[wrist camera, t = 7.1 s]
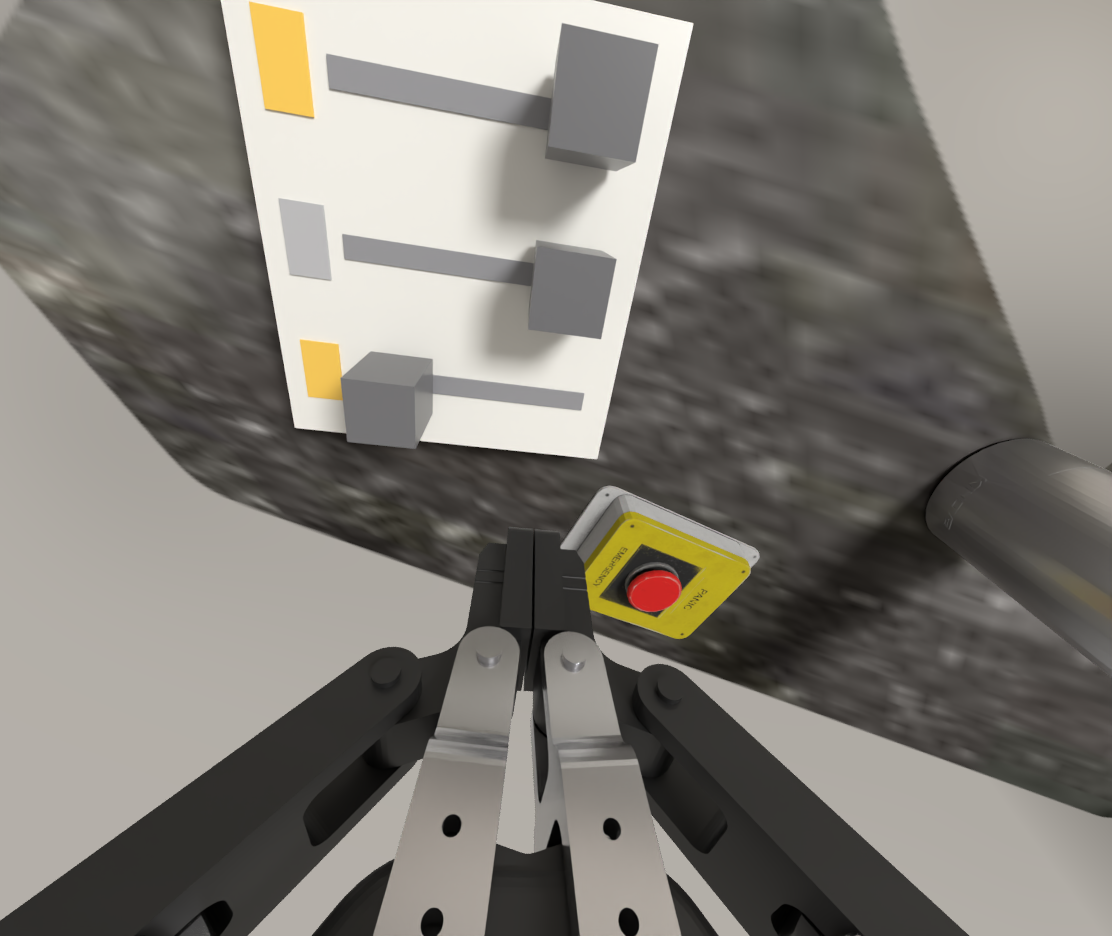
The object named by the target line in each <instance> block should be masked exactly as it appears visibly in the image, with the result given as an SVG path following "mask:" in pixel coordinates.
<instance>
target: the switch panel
mask: <svg viewBox="0 0 1112 936" xmlns="http://www.w3.org/2000/svg"><path fill="white" fill-rule="evenodd" d="M221 4H222V10H223V16H224V21H225V27H226V33H227V39H228V44H229V50H230V56H231V62H232V67H233V73H234V79H235V85H236V91H237V96H238V102H239V108H240V114H241V119H242V125H243V131H244V137H245V143H246V148H247V154H248V160H249V166H250V171H251V177H252V183H253V189H254V195H255V200H256V206H257V212H258V218H259V223H260V229H261V235H262V241H263V246H264V252H265V258H266V264H267V270H268V275H269V281H270V287H271V293H272V298H273V304H274V310H275V316H276V322H277V327H278V333H279V339H280V345H281V350H282V356H283V362H284V368H285V373H286V379H287V385H288V391H289V397H290V402H291V408H292V414H293V420H294V425H295V428H301V429H310V430H320V431H330V432H339V433H346V425H345V416H344V407H343V398H342V388H341V379H340V378H341V377H342V376H343V375H344V374H346V373H347V372H348V371H349V370H350V369H351V368H352V367H354V366H355V365H356V364H357V363H358V362H359V361H360V360H361V359H363V358H364V357H365V356H366V355H367V354H368V353H369V352H371V351H373V352H381V353H389V354H397V355H405V356H413V357H421V358H429V359H433V414H432V416H431V418H430V420H429V422H428V424H427V426H426V429H425V431H424V433H423V435H422V437H421V439H420V441H426V442H436V443H445V444H455V445H465V446H474V447H484V448H494V449H503V450H513V451H523V452H532V453H542V454H552V455H561V456H571V457H581V458H590V459H597V457H598V453H599V448H600V444H601V439H602V435H603V430H604V426H605V421H606V417H607V412H608V408H609V403H610V399H611V394H612V390H613V385H614V381H615V376H616V371H617V367H618V362H619V358H620V353H621V349H622V344H623V340H624V335H625V331H626V326H627V322H628V317H629V313H630V308H631V304H632V299H633V295H634V290H635V286H636V281H637V276H638V272H639V267H640V263H641V258H642V254H643V249H644V245H645V240H646V236H647V231H648V227H649V222H650V218H651V213H652V209H653V204H654V200H655V195H656V191H657V186H658V182H659V177H660V172H661V168H662V163H663V159H664V154H665V150H666V145H667V141H668V136H669V132H670V127H671V123H672V118H673V114H674V109H675V105H676V100H677V96H678V91H679V87H680V82H681V78H682V73H683V68H684V64H685V59H686V55H687V50H688V46H689V41H690V37H691V32H692V28H693V23H690V22H685V21H681V20H677V19H672V18H668V17H663V16H659V15H655V14H650V13H646V12H641V11H637V10H633V9H628V8H624V7H620V6H615V5H611V4H606V3H602V2H598V1H593V0H221ZM562 23H565V24H569V25H574V26H578V27H583V28H587V29H592V30H596V31H601V32H606V33H610V34H615V35H619V36H624V37H628V38H633V39H637V40H642V41H646V42H651V43H655V44H659V45H658V50H657V56H656V61H655V66H654V71H653V76H652V81H651V86H650V91H649V97H648V102H647V107H646V112H645V117H644V122H643V127H642V132H641V138H640V143H639V148H638V153H637V158H636V163H634V164H631V165H629V166H627V167H625V168H622V169H620V170H618V171H611V170H605V169H600V168H594V167H589V166H583V165H578V164H572V163H567V162H561V161H556V160H550V159H545V153H546V144H547V135H548V125H549V116H550V107H551V98H552V89H553V79H554V70H555V61H556V55H557V49H558V43H559V37H560V31H561V25H562ZM536 240H539V241H546V242H552V243H558V244H564V245H571V246H577V247H583V248H589V249H595V250H602V251H604V252H605V253H607V254H609V255H610V256H612V257H614V258H616V259H617V260H616V266H615V271H614V276H613V281H612V286H611V291H610V296H609V301H608V306H607V312H606V317H605V322H604V327H603V332H602V337H601V339H595V338H587V337H580V336H573V335H565V334H558V333H551V332H543V331H536V330H529V329H528V310H529V301H530V291H531V282H532V273H533V264H534V255H535V245H536Z"/></svg>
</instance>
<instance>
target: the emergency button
mask: <svg viewBox="0 0 1112 936" xmlns="http://www.w3.org/2000/svg"><path fill="white" fill-rule="evenodd" d="M560 548H561V549H568V550H576V552H577V553H578V555H579V556H580V558H581V559H582V561H583V562H584V568H585V575H586V583H587V592H588V598H589V606H590V610H593V611H596V612H599V613H602V614H605V615H608V616H611V617H614V618H617V619H619V620H622V621H625V622H628V623H631V624H634V625H637V626H640V627H643V628H646V629H649V630H652V631H655V632H658V633H661V634H664V635H667V636H669V637H672V638H676V639H682V638H686V637H687V636H689V635H690V634H691V633H692V632H693V631H694V630H695V629H696V628H697V627H698V626H699V625H700V624H701V623H702V622H703V621H704V620H705V619H706V618H707V617H708V616H709V615H710V614H711V613H712V612H713V611H714V610H715V609H716V608H717V607H718V606H719V605H720V604H721V603H722V602H723V601H724V600H725V599H726V598H727V597H728V596H729V595H730V594H731V593H732V592H733V591H734V590H735V589H736V588H737V587H738V586H739V585H740V584H741V583H742V582H743V581H744V580H745V579H746V578H747V577H748V576H749V574H750V573H751V571H750V568H751V567H752V566H753V565H754V564H755V563H756V562H757V561H758V559H759V552H758V551H757V550H756V549H755V548H754V547H751V546H749V545H747V544H745V543H742V542H740V541H738V540H736V539H733V538H731V537H729V536H727V535H724V534H722V533H720V532H717V531H715V530H713V529H711V528H708V527H706V526H704V525H702V524H699V523H697V522H695V521H693V520H690V519H688V518H686V517H684V516H681V515H679V514H677V513H674V512H672V511H670V510H668V509H665V508H663V507H661V506H659V505H656V504H654V503H652V502H650V501H647V500H645V499H643V498H640V497H638V496H636V495H634V494H631V493H629V492H627V491H625V490H622V489H620V488H618V487H614V486H606V487H602V488H601V489H599V490H598V491H597V492H596V493H595V495H594V496H593V498H592V499H591V501H590V502H589V504H588V505H587V507H586V508H585V510H584V511H583V512H582V514H581V515H580V517H579V518H578V520H577V521H576V523H575V524H574V526H573V527H572V529H571V530H570V531H569V533H568V534H567V536H566V537H565V539H564V540H563V542H562V543H561V545H560Z"/></svg>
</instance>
